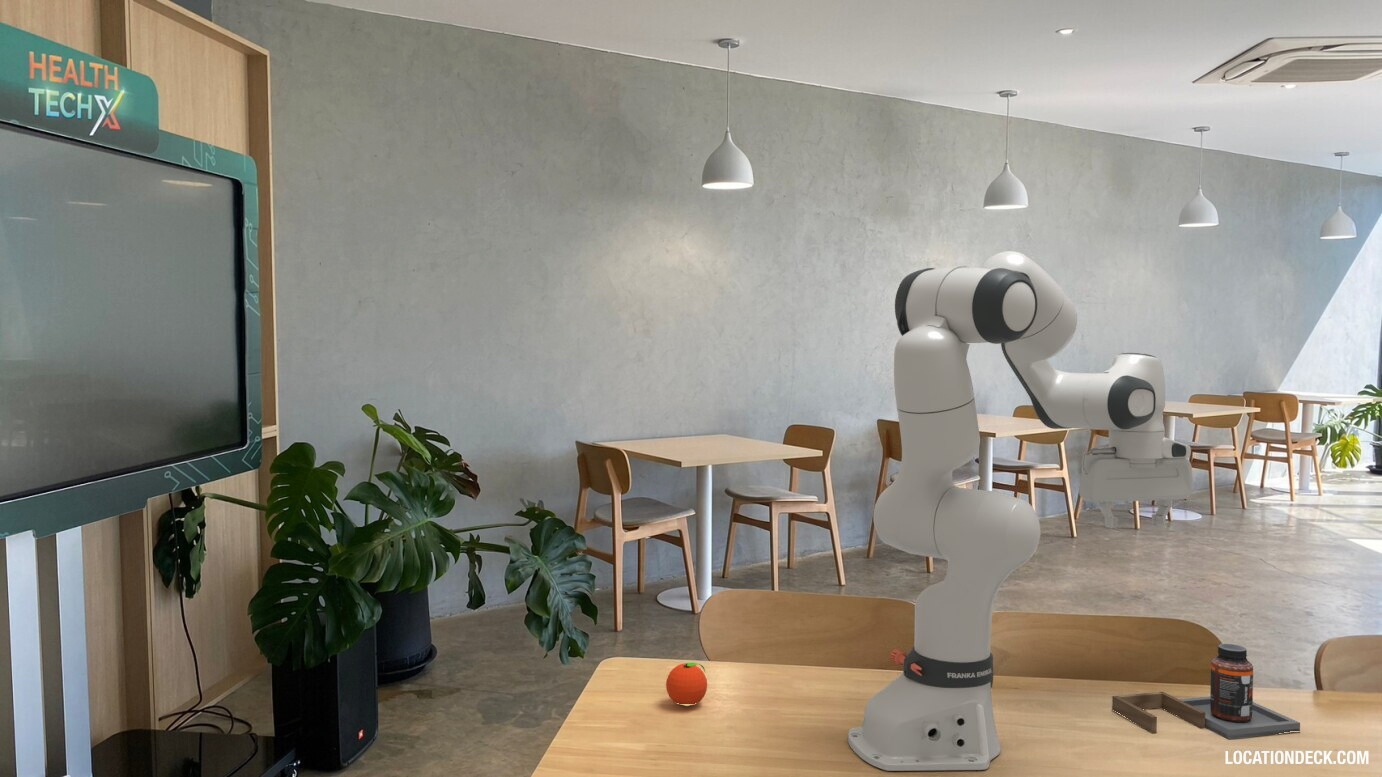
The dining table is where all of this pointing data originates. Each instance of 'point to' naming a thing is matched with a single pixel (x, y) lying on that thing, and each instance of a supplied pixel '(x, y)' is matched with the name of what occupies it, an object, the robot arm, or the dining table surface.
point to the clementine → (686, 684)
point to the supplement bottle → (1231, 684)
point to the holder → (1136, 703)
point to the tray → (1258, 725)
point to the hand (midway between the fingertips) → (1135, 526)
